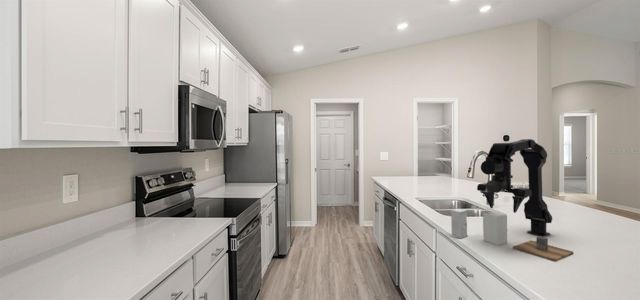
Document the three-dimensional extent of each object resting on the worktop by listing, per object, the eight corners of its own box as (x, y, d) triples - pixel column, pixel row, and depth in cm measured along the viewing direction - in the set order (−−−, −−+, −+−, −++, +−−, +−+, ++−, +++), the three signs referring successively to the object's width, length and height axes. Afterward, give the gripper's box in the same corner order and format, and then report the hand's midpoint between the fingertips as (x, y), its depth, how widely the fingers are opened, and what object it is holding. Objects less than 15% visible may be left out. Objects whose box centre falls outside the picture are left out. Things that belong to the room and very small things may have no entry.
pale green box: (493, 238, 120) (493, 211, 120) (507, 242, 114) (507, 214, 114) (483, 240, 118) (483, 213, 118) (496, 244, 112) (496, 216, 112)
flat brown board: (531, 242, 115) (531, 229, 114) (573, 253, 102) (573, 240, 102) (512, 248, 108) (512, 235, 108) (555, 261, 96) (555, 247, 96)
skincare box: (460, 238, 120) (460, 212, 120) (450, 236, 124) (450, 210, 124) (467, 236, 124) (467, 210, 123) (458, 233, 127) (457, 208, 127)
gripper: (468, 172, 116) (469, 208, 117) (516, 176, 100) (516, 218, 100) (484, 170, 121) (484, 205, 122) (532, 174, 105) (532, 214, 105)
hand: (502, 210), depth 112 cm, fingers open, 9 cm apart
